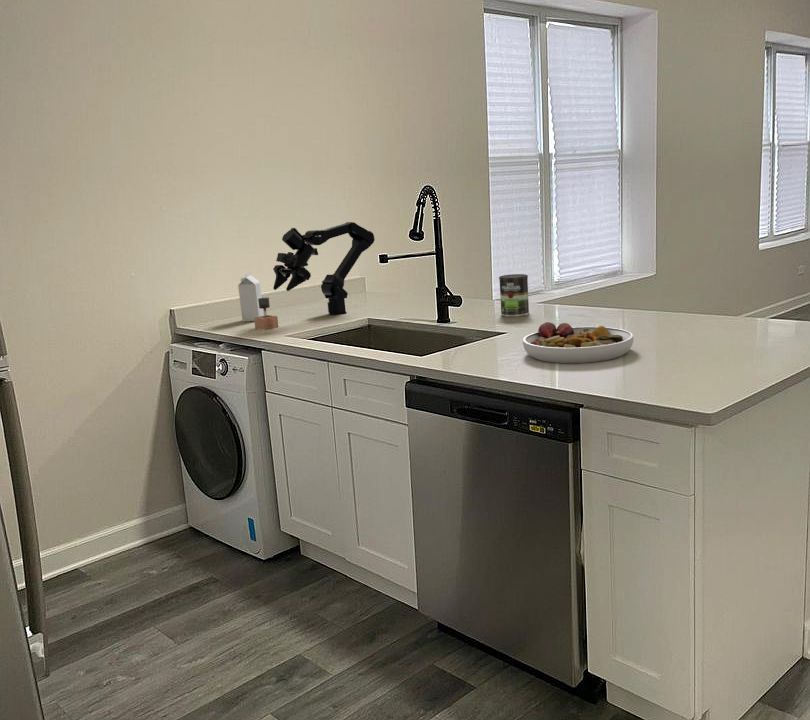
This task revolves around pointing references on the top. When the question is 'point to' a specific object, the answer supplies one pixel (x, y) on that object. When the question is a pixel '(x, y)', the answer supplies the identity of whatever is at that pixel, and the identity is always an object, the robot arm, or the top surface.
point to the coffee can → (514, 295)
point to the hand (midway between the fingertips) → (280, 289)
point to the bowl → (577, 343)
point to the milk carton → (250, 298)
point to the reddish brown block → (266, 322)
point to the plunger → (264, 304)
